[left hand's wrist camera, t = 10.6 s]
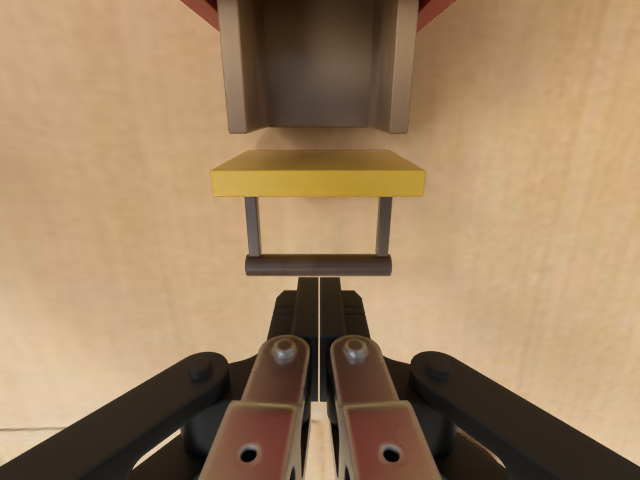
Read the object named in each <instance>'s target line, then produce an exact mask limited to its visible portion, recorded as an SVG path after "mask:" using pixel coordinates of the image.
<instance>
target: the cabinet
mask: <svg viewBox="0 0 640 480" xmlns="http://www.w3.org/2000/svg"><path fill="white" fill-rule="evenodd" d="M181 1H182V2H183V3H184V4H186V5H187V6H188V7H189V8H191V9H192V10H193V11H194V12H196V13H197V14H198V15H199V16H201V17H202V18H203V19H204V20H206V21H207V22H208V23H209V24H211V25H212V26H213V27H214V28H216V29H217V30H218V31H219V32H220V29H219V18H218V7H217V0H181ZM454 1H456V0H419V7H418V18H417V30H416V33H417V32H418V31H419V30H420V29H422V28H423V27H424V26H425V25H427V24H428V23H429V22H430V21H431V20H433V19H434V18H435V17H436V16H437V15H439V14H440V13H441V12H442V11H444V10H445V9H446V8H447V7H448V6H450V5H451V4H452V3H453V2H454Z"/></svg>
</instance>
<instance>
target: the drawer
mask: <svg viewBox="0 0 640 480" xmlns="http://www.w3.org/2000/svg"><path fill="white" fill-rule="evenodd" d="M217 7H218V18H219V29H220V40H221V51H222V62H223V73H224V84H225V96H226V107H227V118H228V129H229V133H231V134H246V133H250V132H253V131H256V130H260V129H263V128H267V127H370V128H374V129H377V130H380V131H383V132H387V133H390V134H406V133H407V132H408V121H409V110H410V98H411V87H412V76H413V64H414V53H415V41H416V30H417V18H418V7H419V0H217ZM425 175H426V171H425V170H424V169H422V168H420V167H418V166H417V165H415V164H413V163H411V162H409V161H407V160H406V159H404V158H402V157H400V156H398V155H397V154H395V153H393V152H391V151H389V150H248V151H246V152H244V153H243V154H241V155H239V156H237V157H235V158H233V159H231V160H229V161H228V162H226V163H224V164H222V165H220V166H218V167H216V168H214V169H213V170H211V180H212V189H213V195H214V196H215V197H245V209H246V221H247V234H248V246H249V254H247V256H246V260H245V271H246V275H247V276H390V275H391V272H392V260H391V256H390V254H388V247H389V234H390V221H391V208H392V197H422V196H423V193H424V184H425ZM258 197H379V204H378V220H377V236H376V254H261V252H262V250H261V234H260V219H259V204H258Z"/></svg>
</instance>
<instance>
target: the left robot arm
mask: <svg viewBox="0 0 640 480" xmlns="http://www.w3.org/2000/svg"><path fill="white" fill-rule="evenodd" d="M311 401H318V277H299V279H298V287H297V290H284V291H283V292H282V293H281V294H280V295H279V296H278V297H277V299H276V303H275V308H274V312H273V316H272V320H271V325H270V329H269V333H268V337H267V341H266V342H265V343H263V345H262V346H261V347H260V349H259V352H258V354H256V355H255V356H253V357H251V358H248V359H246V360H242V361H238V362H234V363H230V364H228V362H227V360H226V358H225V357H224V356H223V355H221V354H218V353H215V352H201V353H197V354H193V355H191V356H188V357H187V358H185V359H183V360H181V361H180V362H178V363H176V364H174V365H173V366H171V367H169V368H168V369H166V370H164V371H162V372H161V373H159V374H157V375H156V376H154V377H152V378H151V379H149V380H147V381H145V382H144V383H142V384H140V385H139V386H137V387H135V388H134V389H132V390H130V391H128V392H127V393H125V394H123V395H122V396H120V397H118V398H116V399H115V400H113V401H111V402H110V403H108V404H106V405H105V406H103V407H101V408H99V409H98V410H96V411H94V412H93V413H91V414H89V415H88V416H86V417H84V418H82V419H81V420H79V421H77V422H76V423H74V424H72V425H70V426H69V427H67V428H65V429H64V430H62V431H60V432H59V433H57V434H55V435H53V436H52V437H50V438H48V439H47V440H45V441H43V442H42V443H40V444H38V445H36V446H35V447H33V448H31V449H30V450H28V451H26V452H24V453H23V454H21V455H19V456H18V457H16V458H14V459H13V460H11V461H9V462H7V463H6V464H4V465H2V466H1V467H0V480H305V472H306V463H307V454H308V446H309V437H310V429H311ZM320 402H327V415H328V418H329V429H330V437H331V446H332V454H333V463H334V472H335V480H640V467H639V466H638V465H636V464H634V463H633V462H631V461H629V460H627V459H626V458H624V457H622V456H621V455H619V454H617V453H615V452H614V451H612V450H610V449H609V448H607V447H605V446H604V445H602V444H600V443H598V442H597V441H595V440H593V439H592V438H590V437H588V436H587V435H585V434H583V433H581V432H580V431H578V430H576V429H575V428H573V427H571V426H569V425H568V424H566V423H564V422H563V421H561V420H559V419H558V418H556V417H554V416H552V415H551V414H549V413H547V412H546V411H544V410H542V409H541V408H539V407H537V406H535V405H534V404H532V403H530V402H529V401H527V400H525V399H523V398H522V397H520V396H518V395H517V394H515V393H513V392H512V391H510V390H508V389H506V388H505V387H503V386H501V385H500V384H498V383H496V382H495V381H493V380H491V379H489V378H488V377H486V376H484V375H483V374H481V373H479V372H478V371H476V370H474V369H472V368H471V367H469V366H467V365H466V364H464V363H462V362H460V361H459V360H457V359H455V358H454V357H452V356H450V355H447V354H445V353H441V352H436V351H426V352H421V353H419V354H417V355H415V356H414V357H413V359H412V360H411V364H407V363H403V362H399V361H395V360H391V359H389V358H387V357H385V356H383V355H382V352H381V349H380V347H379V346H378V345H377V343H375V342H374V341H373V340H371V338H370V334H369V329H368V325H367V320H366V316H365V311H364V308H363V302H362V298H361V297H360V296H359V295H358V294H357V293H356V292H355V291H354V290H341V285H340V278H339V277H320ZM458 427H459V428H461V429H462V430H463V431H465V432H466V433H467V434H469V435H470V436H471V437H473V438H474V439H475V440H477V441H478V442H479V443H481V444H482V445H483V446H485V447H486V448H487V449H489V450H490V451H491V452H493V453H494V454H495V455H496V456H497V457H498V458H499V459H500V460H501V461H502V462H503V464H504V466H505V467H506V468H504V467H503V466H502V465H500V464H499V463H498V462H496V461H495V460H494V459H492V458H491V457H490V456H488V455H487V454H486V453H485V452H483V451H482V450H481V449H479V448H478V447H477V446H475V445H474V444H473V443H471V442H470V441H469V440H467V439H466V438H465V437H463V436H462V435H461V434H459V433H458V432H457V428H458ZM179 428H180V431H181V434H179V435H178V436H177V437H175V438H174V439H173V440H171V441H170V442H169V443H167V444H166V445H165V446H163V447H162V448H161V449H159V450H158V451H157V452H155V453H154V454H153V455H152V456H150V457H149V458H148V459H146V460H145V461H144V462H142V463H141V464H140V465H138V466H137V467H136V468H134V469H133V467H134V465H135V464H136V463H137V461H138V460H139V459H140V458H141V457H142V456H143V455H145V454H146V453H147V452H149V451H150V450H151V449H153V448H154V447H155V446H157V445H158V444H159V443H161V442H162V441H163V440H165V439H166V438H167V437H169V436H170V435H171V434H173V433H174V432H175V431H177V430H178V429H179ZM132 469H133V470H132Z"/></svg>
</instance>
